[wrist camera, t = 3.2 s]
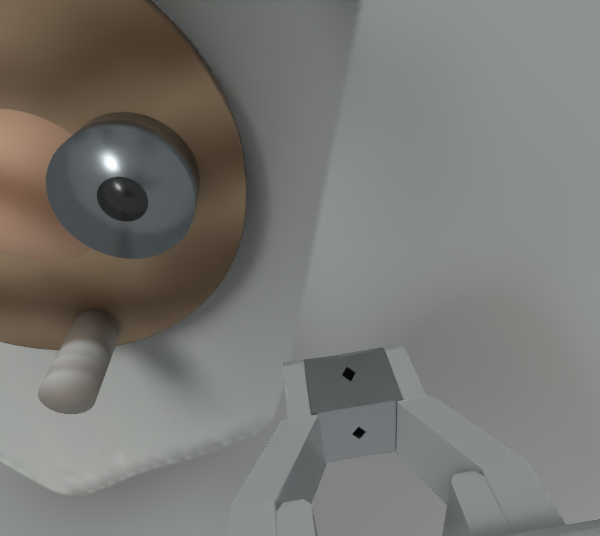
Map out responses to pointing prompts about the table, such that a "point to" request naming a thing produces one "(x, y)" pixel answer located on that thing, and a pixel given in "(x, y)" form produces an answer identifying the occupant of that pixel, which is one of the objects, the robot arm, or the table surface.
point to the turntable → (60, 127)
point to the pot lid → (124, 185)
